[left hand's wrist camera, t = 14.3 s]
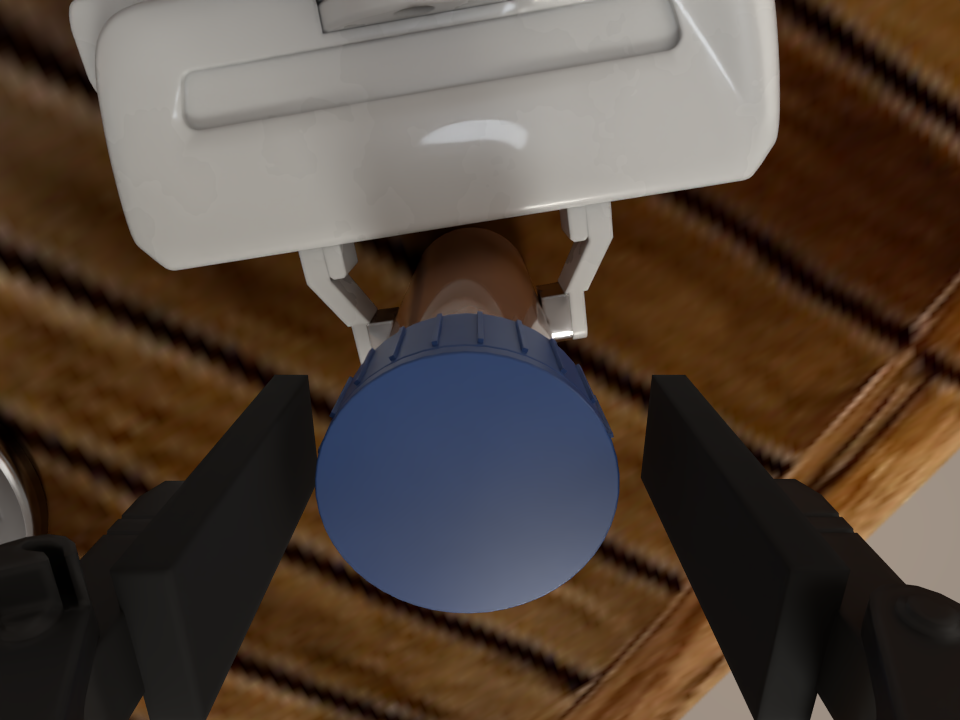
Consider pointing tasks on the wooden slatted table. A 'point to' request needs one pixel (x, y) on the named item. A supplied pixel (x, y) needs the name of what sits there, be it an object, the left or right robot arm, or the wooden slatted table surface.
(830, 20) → the wooden slatted table surface
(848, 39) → the wooden slatted table surface
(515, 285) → the jar
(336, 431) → the lid
